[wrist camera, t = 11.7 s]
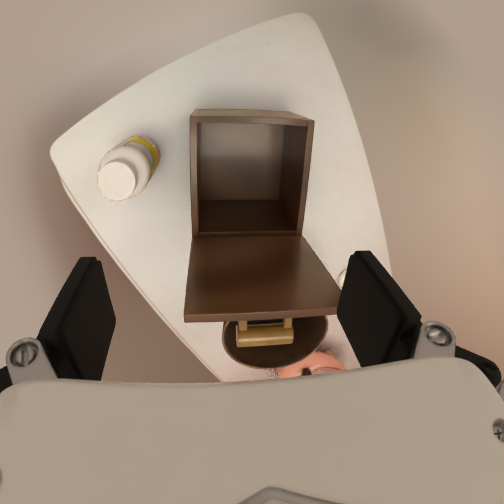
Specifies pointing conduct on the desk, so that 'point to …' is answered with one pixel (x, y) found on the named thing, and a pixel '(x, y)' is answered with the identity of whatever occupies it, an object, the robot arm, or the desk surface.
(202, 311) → the brown wooden box lid
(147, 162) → the supplement bottle
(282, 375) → the piggy bank
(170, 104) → the desk surface
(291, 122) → the chest
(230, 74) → the desk surface
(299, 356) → the flower pot
